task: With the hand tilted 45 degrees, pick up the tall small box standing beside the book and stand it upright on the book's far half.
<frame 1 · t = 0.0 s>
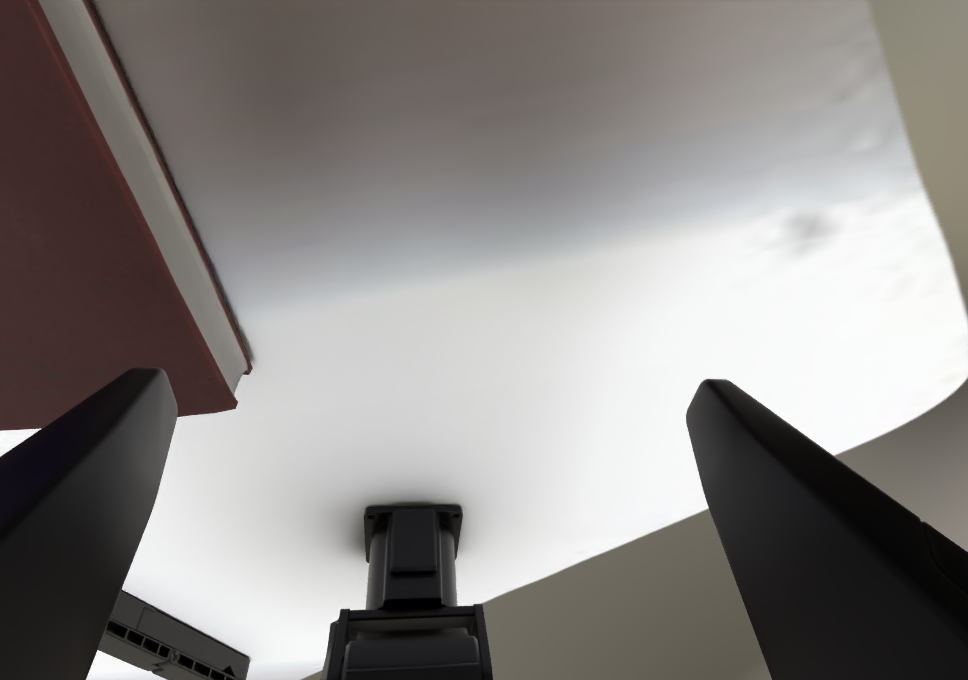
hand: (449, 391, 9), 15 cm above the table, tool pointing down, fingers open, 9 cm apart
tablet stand: (170, 622, 44), on the table
book: (16, 194, 21), on the table
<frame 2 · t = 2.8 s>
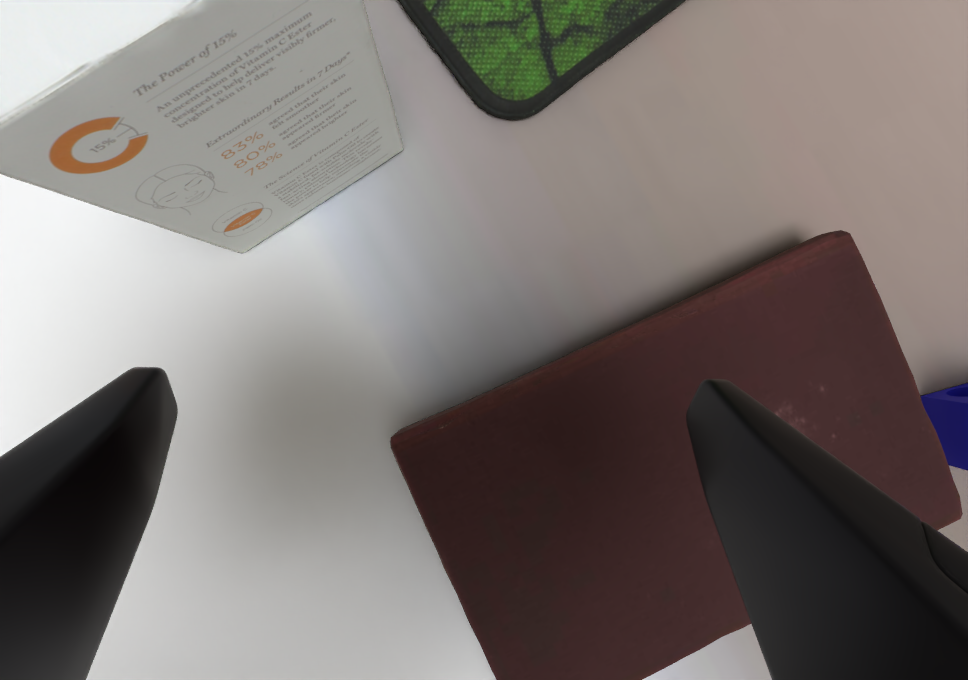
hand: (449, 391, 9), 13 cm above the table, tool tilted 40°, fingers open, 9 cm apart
book: (659, 460, 24), on the table
small box: (281, 138, 22), on the table
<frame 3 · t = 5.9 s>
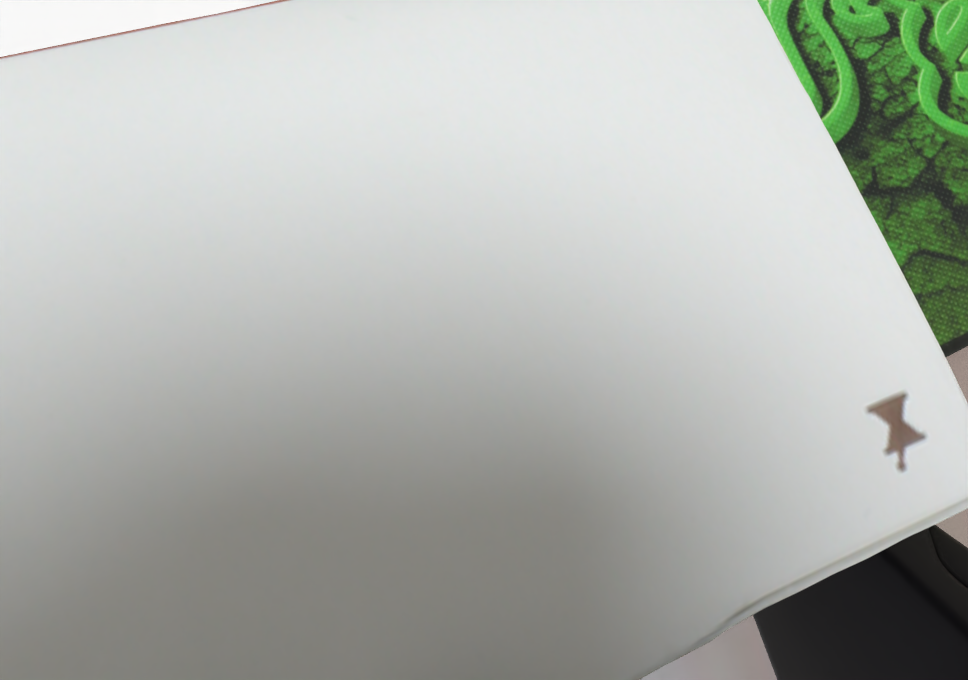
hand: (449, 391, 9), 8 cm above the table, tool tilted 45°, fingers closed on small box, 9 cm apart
mouse mat: (866, 74, 21), on the table
small box: (429, 419, 17), on the table, touching gripper
when the fingers open (11 cm above the table, at t = 14.8 s): small box stays where it is, point 3 cm above the table.
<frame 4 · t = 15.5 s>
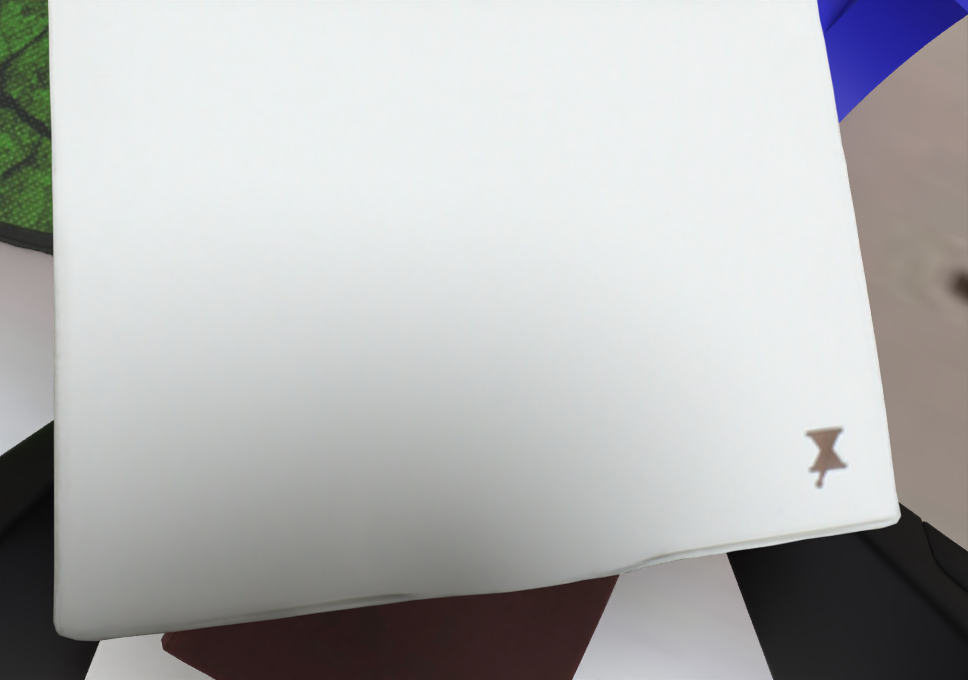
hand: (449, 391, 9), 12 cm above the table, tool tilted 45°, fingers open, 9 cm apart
cable clip: (743, 142, 24), on the table
book: (473, 450, 21), on the table
small box: (438, 354, 18), point 3 cm above the table, touching gripper
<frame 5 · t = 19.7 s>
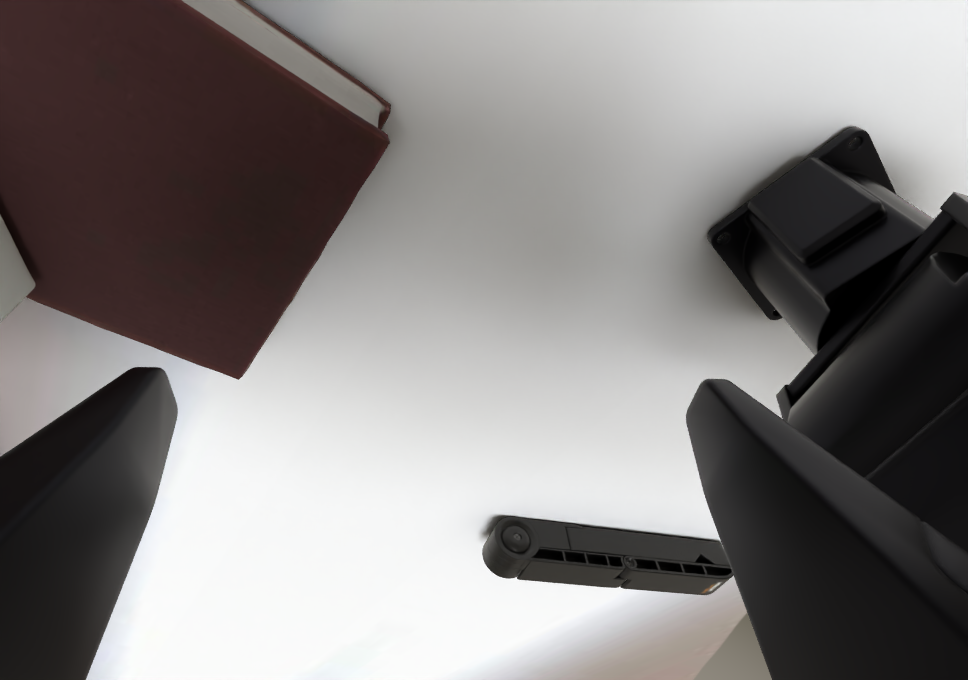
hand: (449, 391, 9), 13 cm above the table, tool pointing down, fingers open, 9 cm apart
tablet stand: (606, 534, 38), on the table
book: (35, 86, 17), on the table, touching small box
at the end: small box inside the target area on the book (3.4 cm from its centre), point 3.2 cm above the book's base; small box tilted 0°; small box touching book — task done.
